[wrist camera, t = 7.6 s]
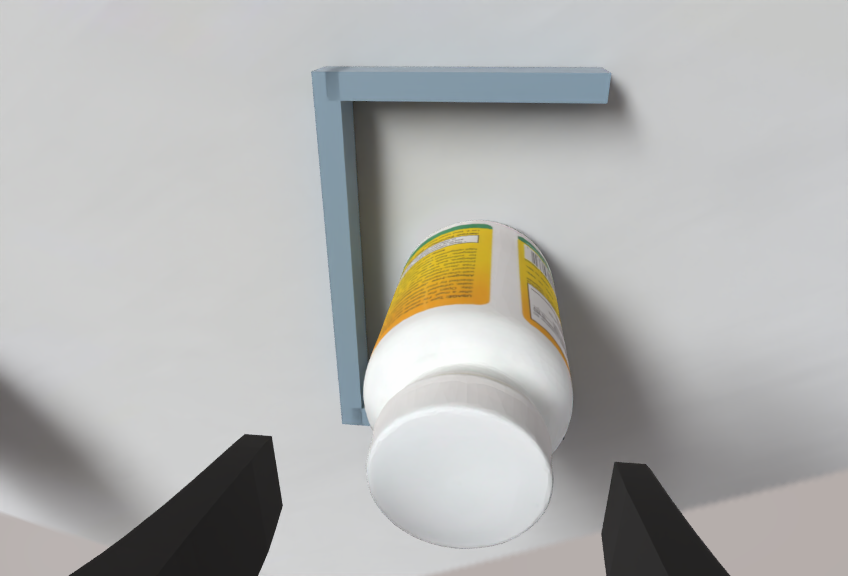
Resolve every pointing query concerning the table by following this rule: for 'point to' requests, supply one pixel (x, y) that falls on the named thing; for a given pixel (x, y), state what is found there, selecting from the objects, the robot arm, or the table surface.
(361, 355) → the blue-grey u-shaped bracket
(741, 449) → the table surface
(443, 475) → the supplement bottle
